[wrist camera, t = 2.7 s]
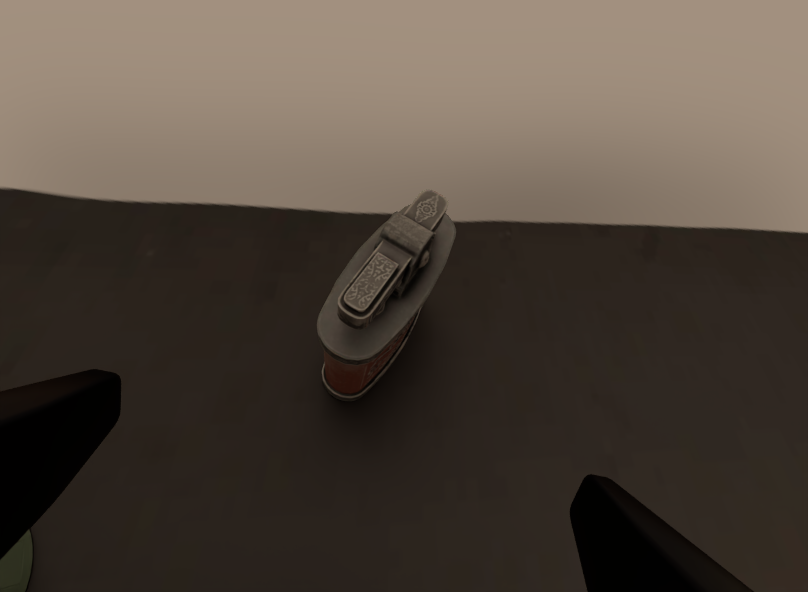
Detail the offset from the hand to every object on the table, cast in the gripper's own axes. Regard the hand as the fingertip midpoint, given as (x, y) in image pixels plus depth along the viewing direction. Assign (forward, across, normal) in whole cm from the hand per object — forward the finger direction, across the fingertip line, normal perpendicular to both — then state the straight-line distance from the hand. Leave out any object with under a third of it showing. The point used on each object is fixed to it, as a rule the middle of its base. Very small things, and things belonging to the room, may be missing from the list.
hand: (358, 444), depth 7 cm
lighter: (+14, 0, +4) cm, 15 cm away
